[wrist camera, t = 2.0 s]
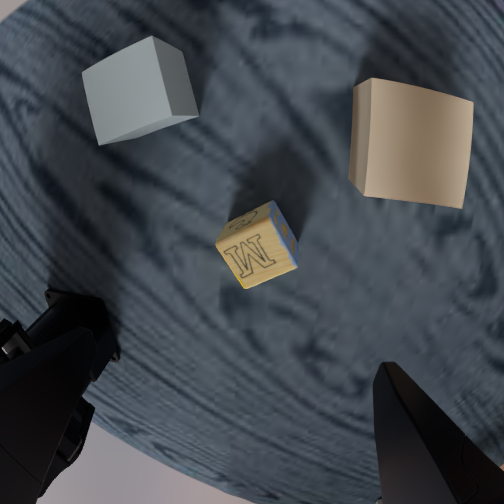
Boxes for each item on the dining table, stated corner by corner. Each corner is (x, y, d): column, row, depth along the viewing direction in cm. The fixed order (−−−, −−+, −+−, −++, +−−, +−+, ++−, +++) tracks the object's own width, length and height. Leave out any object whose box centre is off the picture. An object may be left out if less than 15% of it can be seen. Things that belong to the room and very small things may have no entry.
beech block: (348, 178, 16) (364, 196, 12) (352, 87, 13) (371, 77, 10) (429, 188, 15) (461, 208, 11) (436, 103, 13) (473, 102, 9)
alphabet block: (299, 244, 17) (299, 269, 15) (252, 266, 18) (244, 292, 16) (274, 198, 16) (269, 214, 14) (225, 222, 17) (212, 243, 15)
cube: (137, 137, 16) (98, 145, 12) (121, 77, 14) (81, 72, 11) (199, 115, 15) (172, 115, 11) (182, 51, 14) (152, 35, 10)
